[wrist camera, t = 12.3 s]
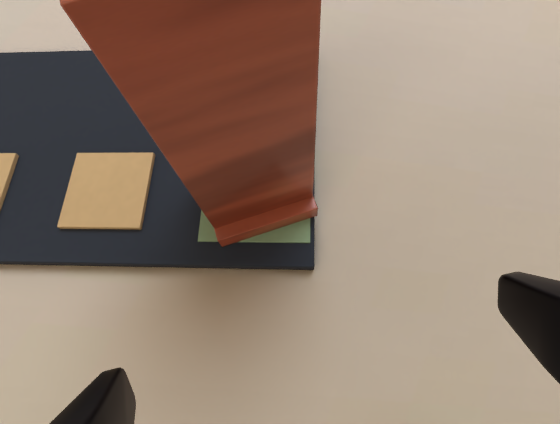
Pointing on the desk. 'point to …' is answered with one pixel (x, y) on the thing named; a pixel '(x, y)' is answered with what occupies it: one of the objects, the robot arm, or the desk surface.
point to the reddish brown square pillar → (220, 98)
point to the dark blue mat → (104, 180)
